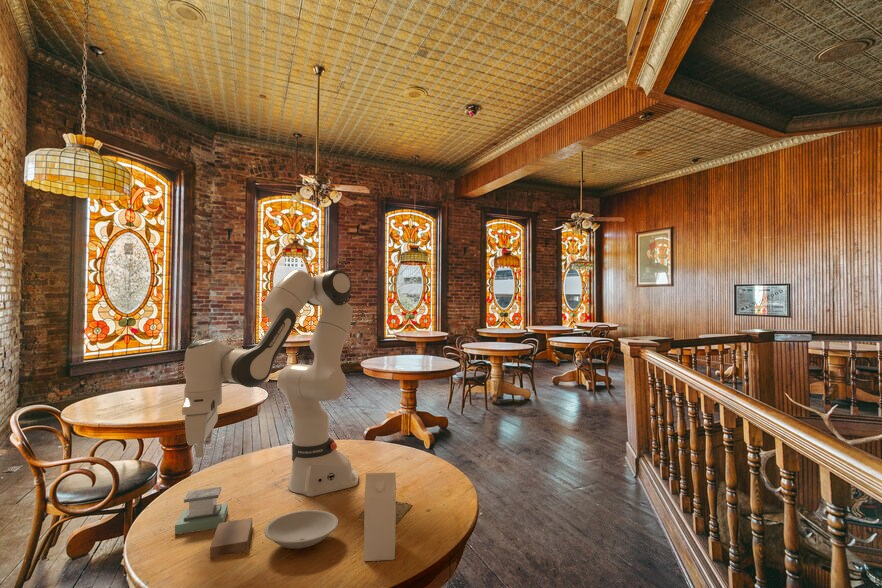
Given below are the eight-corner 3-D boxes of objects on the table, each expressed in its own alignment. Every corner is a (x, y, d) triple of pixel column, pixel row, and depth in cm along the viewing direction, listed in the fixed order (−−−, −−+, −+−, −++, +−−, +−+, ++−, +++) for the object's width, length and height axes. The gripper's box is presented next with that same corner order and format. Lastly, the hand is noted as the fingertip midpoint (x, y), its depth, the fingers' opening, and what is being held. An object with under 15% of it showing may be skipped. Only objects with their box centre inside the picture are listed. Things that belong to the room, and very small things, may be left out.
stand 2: (252, 527, 109) (252, 517, 109) (247, 551, 98) (247, 541, 98) (218, 532, 106) (218, 523, 106) (209, 558, 96) (209, 547, 96)
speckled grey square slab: (356, 519, 113) (356, 515, 113) (378, 499, 125) (378, 496, 125) (395, 528, 109) (395, 524, 109) (413, 506, 121) (413, 503, 121)
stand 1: (227, 512, 116) (227, 503, 116) (222, 527, 109) (222, 517, 109) (183, 519, 112) (183, 509, 112) (174, 534, 105) (174, 525, 105)
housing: (188, 511, 112) (188, 491, 112) (221, 506, 114) (221, 486, 114) (183, 521, 107) (183, 499, 107) (217, 515, 110) (218, 495, 110)
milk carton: (366, 543, 102) (367, 467, 102) (395, 542, 102) (395, 466, 102) (363, 562, 95) (364, 480, 95) (394, 560, 95) (395, 479, 95)
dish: (254, 565, 93) (254, 544, 93) (274, 530, 107) (274, 511, 107) (332, 562, 94) (332, 540, 95) (342, 527, 109) (342, 508, 109)
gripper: (199, 391, 120) (199, 438, 120) (180, 410, 100) (180, 466, 100) (223, 389, 122) (223, 435, 122) (208, 408, 102) (209, 462, 102)
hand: (204, 449), depth 111 cm, fingers open, 8 cm apart
